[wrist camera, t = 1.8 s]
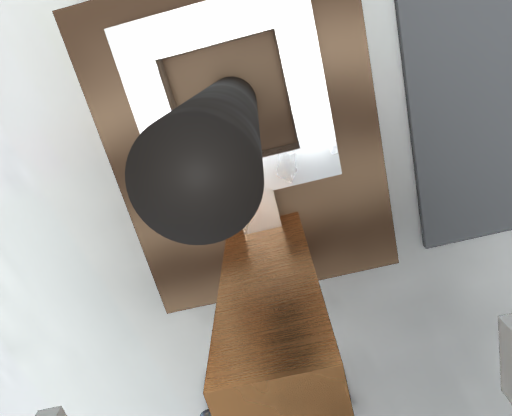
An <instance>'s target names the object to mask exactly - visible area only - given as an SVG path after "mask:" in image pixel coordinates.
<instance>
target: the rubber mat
mask: <svg viewBox="0 0 512 416" xmlns="http://www.w3.org/2000/svg"><path fill="white" fill-rule="evenodd" d="M395 7H396V16H397V24H398V33H399V41H400V49H401V58H402V66H403V75H404V83H405V92H406V100H407V108H408V117H409V125H410V134H411V142H412V151H413V159H414V167H415V176H416V184H417V193H418V201H419V210H420V218H421V226H422V235H423V243H424V247H425V248H426V249H428V248H432V247H437V246H441V245H446V244H450V243H455V242H459V241H464V240H468V239H473V238H477V237H482V236H486V235H491V234H495V233H500V232H504V231H509V230H512V0H395Z"/></svg>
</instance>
